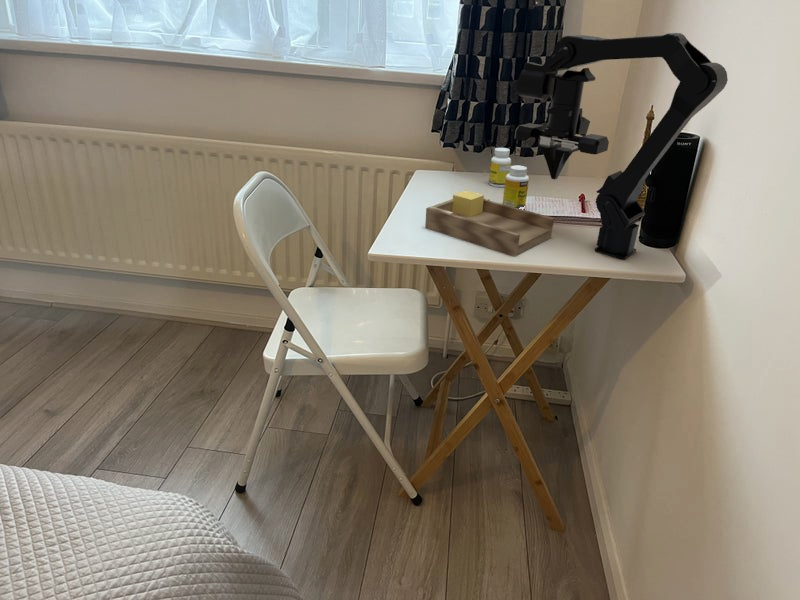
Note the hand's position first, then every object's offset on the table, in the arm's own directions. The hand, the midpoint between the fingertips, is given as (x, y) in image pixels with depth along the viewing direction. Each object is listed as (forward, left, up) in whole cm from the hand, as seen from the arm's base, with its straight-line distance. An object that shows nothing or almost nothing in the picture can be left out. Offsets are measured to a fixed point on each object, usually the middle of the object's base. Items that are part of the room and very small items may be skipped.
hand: (554, 178), depth 129 cm
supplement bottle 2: (+14, -9, -12) cm, 21 cm away
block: (+17, +7, -10) cm, 21 cm away
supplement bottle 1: (+28, -24, -12) cm, 39 cm away
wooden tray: (+9, +10, -12) cm, 18 cm away
